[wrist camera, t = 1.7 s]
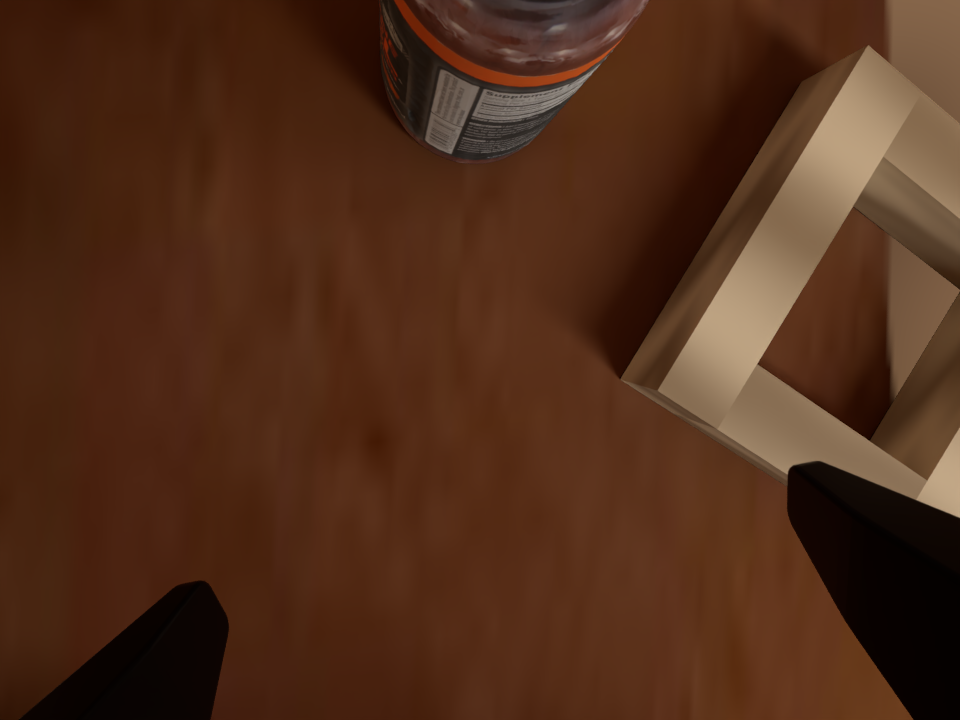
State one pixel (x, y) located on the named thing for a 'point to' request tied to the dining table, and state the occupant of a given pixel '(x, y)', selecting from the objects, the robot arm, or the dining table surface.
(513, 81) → the supplement bottle
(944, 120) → the cream square shallow tray
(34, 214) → the dining table surface
